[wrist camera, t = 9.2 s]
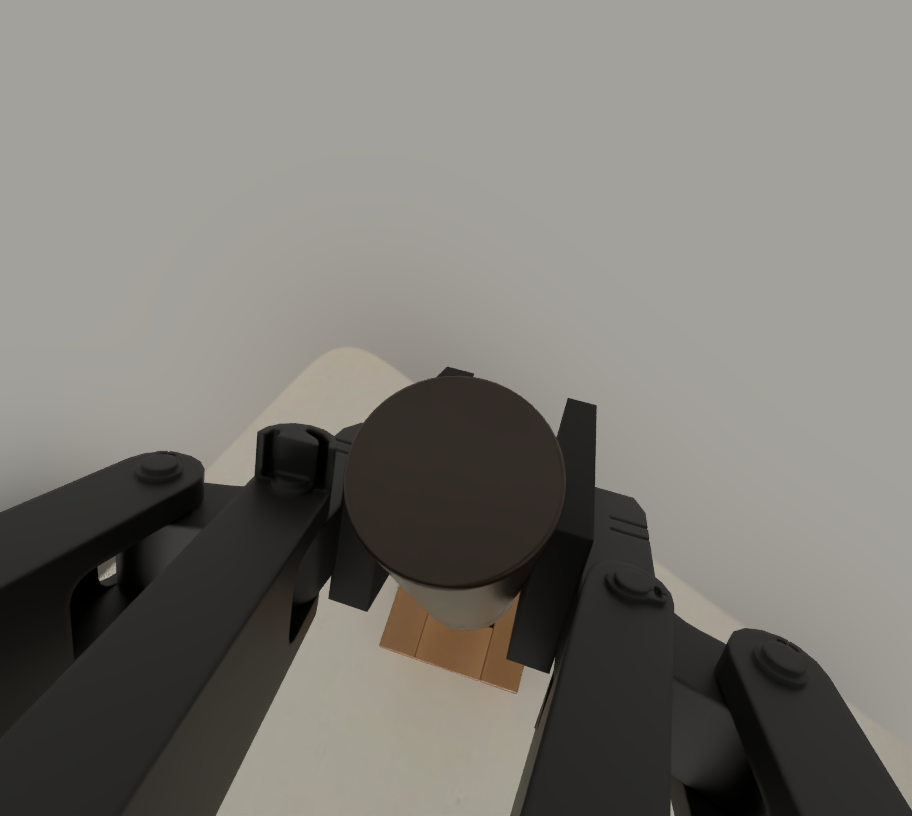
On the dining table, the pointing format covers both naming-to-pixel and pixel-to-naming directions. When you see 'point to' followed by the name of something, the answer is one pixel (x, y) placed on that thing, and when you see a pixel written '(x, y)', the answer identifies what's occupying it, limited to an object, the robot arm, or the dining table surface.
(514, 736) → the dining table surface
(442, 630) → the knife stand
